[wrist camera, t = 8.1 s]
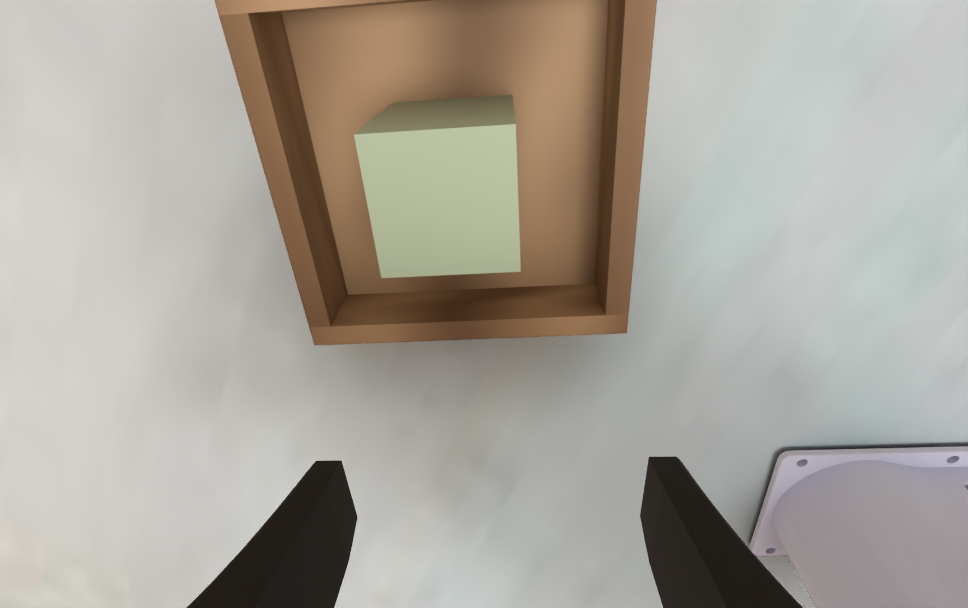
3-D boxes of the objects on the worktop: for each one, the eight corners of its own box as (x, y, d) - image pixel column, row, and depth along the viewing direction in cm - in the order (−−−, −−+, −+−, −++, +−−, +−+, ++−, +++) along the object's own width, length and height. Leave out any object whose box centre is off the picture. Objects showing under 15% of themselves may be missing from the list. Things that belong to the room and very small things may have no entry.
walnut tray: (634, -47, 15) (662, -59, 12) (611, 292, 21) (626, 332, 18) (257, -15, 16) (208, -20, 13) (337, 304, 21) (314, 345, 19)
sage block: (511, 94, 16) (515, 124, 12) (516, 210, 18) (520, 271, 14) (392, 102, 17) (353, 134, 12) (409, 216, 19) (381, 278, 14)
